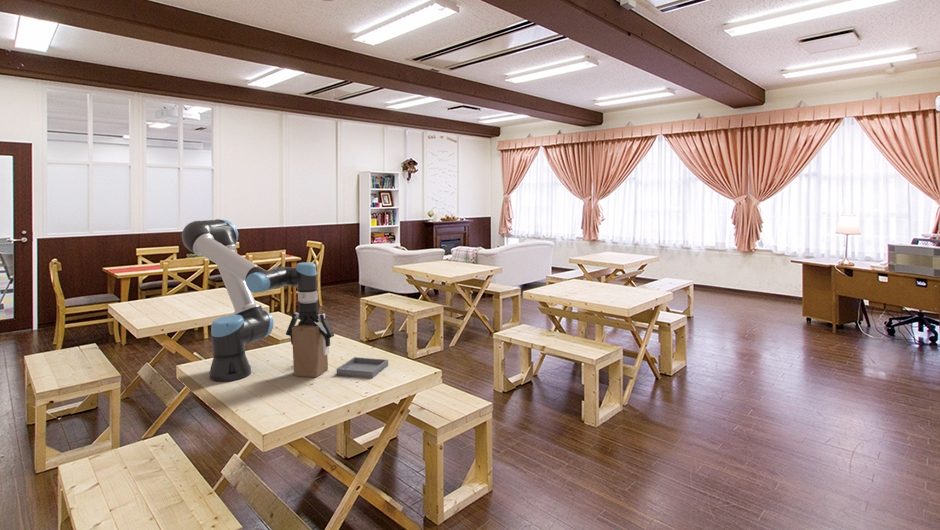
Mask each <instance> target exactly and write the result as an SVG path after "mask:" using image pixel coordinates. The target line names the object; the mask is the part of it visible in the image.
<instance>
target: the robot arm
mask: <svg viewBox="0 0 940 530" xmlns="http://www.w3.org/2000/svg"><path fill="white" fill-rule="evenodd" d="M181 240H182V243H183V245H184V247H185V248H186V249H187V250H189V251H190V252H191V253H193V254H194V255H196V256H199V257H200V256H201V257H202V256H203V257H205V258H206V259H208V261H211V262H213V263H215V264H216V266H217V269H218V271H219V273H220V277H221V279H222V281H223V284H224V287H225V289H226V291H227V293H228V294H227V295H228V296H229V299H230V302H231V304H232V306H233V309H234V312H233V314H228V315H223V316H220V317H218V318H216V319H214V320H213V321H212V323H211V326H210V328H211V330H210V334H211V335H210V337H211V346H212V362H211V365H210V370H209V379H210V380H211V381H214V382H231V381H237V380H242V379H244V378H247V377H248V376H250V375H251V374H252V366H251V364H250V363H249V360H248V357H247V355H246V345H249V344H250V343H254V342H257V341H261V340H263V339H264V338H266V337H268V336H270V335H271V333H272V332H273V329H274V323H275V322H274V318H273V316H272V314H271V313H270V312H268V310H265V309H263V306H262V304H259V303H257V302H256V300H255V297H254V295H253V293H254V294H257V293H264V292H268V291H271V290H276V289H279V288H283V287H284V288H285V287H297V288H296V289H297V301H298V303H297V304H298V311H296V312H293V313H292V314H291V320H290V321H289V324H288V327H287V330H286V332H285V334H286V336H288V337H290V343H291V345H292V346H293V344H292V327H294V326H296V323H297V321H298V319H299V321H298V323H297V325H302V324H305V325H307V324H309V325H314V326H318V327H319V332H320V333H321V334H322V335H323V337H324V339H323V350H324V355H327V356H328V354H330V351H329V350H330V349H329V347H330V346H331V338H333V337H334V336H335V333H334V331H333V329H332V326H331V324H330V322H329V321H328V319H327V314H326V312H324V313H319V301H318V300H319V295H318V273H317V266H316V263H315V262H312V261H311V262H310V261H309V262H307V261H306V262H304V261H303V262H298V263H297V264H296V265H295V267H292V266H291V267H290V266H282V265H281V266H274V267H273V268H272V269H269V270H265V269H263V268H262V267H260V266H259V265H257V264H256V263H253V262H252V261H250V260H249V259H247V258H245V257H243V256H242V255H240V254H238V253H237V252H236V249H237V247H238V244H237V242H238V240H239V232H238V229H237V227H236V226H235V224H234V223H233V222H231V221H229V220H227V219H218V218H217V219H211V220H210V219H207V220H194V221H191V222H189V223H188V224H186V225H185V226H184V228H183V229H182V232H181ZM316 322H317V323H316ZM321 322H322V324H323V326H324V327H323V326H322V324H321Z"/></svg>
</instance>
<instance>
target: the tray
mask: <svg viewBox="0 0 940 530" xmlns="http://www.w3.org/2000/svg"><path fill="white" fill-rule="evenodd" d="M388 366H389V359H382V358H371V357H370V358H369V357H361V356H360V357H358V356H356V357H355V356H354V357H352V358H350V359H348V361H346V362H345V363H343V364H342V365H340V366H339V367H337V368H336V375H337V376H346V377H357V378H365V379H366V378H368V379H374V378H375V377H376V376H378V374H380V373H381V372H382V371H384V370H385V369H386V368H387V367H388ZM384 368H385V369H384ZM379 372H380V373H379ZM373 377H374V378H373Z"/></svg>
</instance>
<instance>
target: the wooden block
mask: <svg viewBox="0 0 940 530" xmlns="http://www.w3.org/2000/svg"><path fill="white" fill-rule="evenodd" d="M320 322H321V321H320ZM316 323H317V322H316ZM321 324H322V322H321ZM322 326H323V324H322ZM323 327H324V326H323ZM323 339H324V337H323V335H322V334H321V333H320V332H319V327H318V326H314V325H309V324H307V325H305V324H302V325H298V324H297V325H296V324H295V326H294V327H292V344H293V345H292V344H291V345H292V359H293V360H292V363H293V364H292V365H293V376H294V377H305V378H318V377H319V376H321V375H322V374H324V373H326V372H327V371H328V370H329V365H328V364H329V361H328V359H329V358H328V354H327V355H324V350H323Z"/></svg>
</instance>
